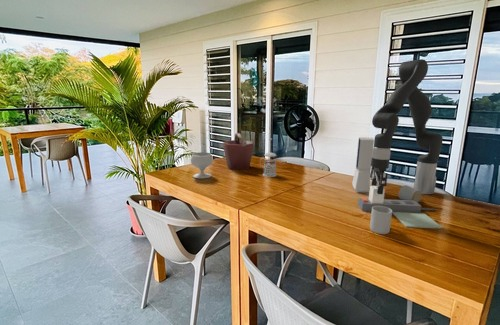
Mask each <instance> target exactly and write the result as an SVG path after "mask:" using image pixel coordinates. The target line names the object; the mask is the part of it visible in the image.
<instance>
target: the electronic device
mask: <svg viewBox="0 0 500 325" xmlns="http://www.w3.org/2000/svg"><path fill="white" fill-rule="evenodd" d="M374 139H375V138H374V137H367V136H366V137H364V136H363V137H362V136H360V137H358V141H357V142H358V143H357V153H356V164H355V170H354V174H353V178H352V187H353V189H354V191H355V192H356V193H364V194H369V192H370V186H371V184H370V183H371V178H370V175H371V160H372V151H373V147H374Z"/></svg>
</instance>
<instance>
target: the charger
mask: <svg viewBox="0 0 500 325" xmlns="http://www.w3.org/2000/svg"><path fill="white" fill-rule="evenodd" d="M377 190H378V185H377V186H371V185H370V186H369V193H368V199H369V200H370V202H371V203H377V204H383V201H384V199H385V193H386V192H385V191H386V189H385V188H383V194H378V193H377Z"/></svg>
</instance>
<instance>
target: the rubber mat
mask: <svg viewBox="0 0 500 325" xmlns="http://www.w3.org/2000/svg"><path fill="white" fill-rule="evenodd" d="M392 216H394V217H395V218H397V220H398V221H399V222H401V224H402V225H403V226H404V227H405V228H416V229H417V228H420V229H443V227H442V226H441V225H440V224H439V223H437V222H436V221H435V220H434V219H433V218H431V217H430V216H428V215H427V214H426V213H425V212H424V213H423V212H421V213H404V212H392Z"/></svg>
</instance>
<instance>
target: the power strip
mask: <svg viewBox="0 0 500 325" xmlns="http://www.w3.org/2000/svg"><path fill="white" fill-rule="evenodd" d="M357 206H358V207H359V209H360V210H361V211H363V212H372V207H373V206H384V207H387V208H390V209H391V210H392V212H404V213H422V212H421V211H425V212H426V211H427V212H429V211H430V212H435V211H436V209H435V208H424V207H423V208H422V205H421V204H420V203H419V202H418V203H417V202H416V201H414V200H402V199H386V198H384V201H383V204H377V203H371V202H370V200H369V198H358V200H357Z"/></svg>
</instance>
